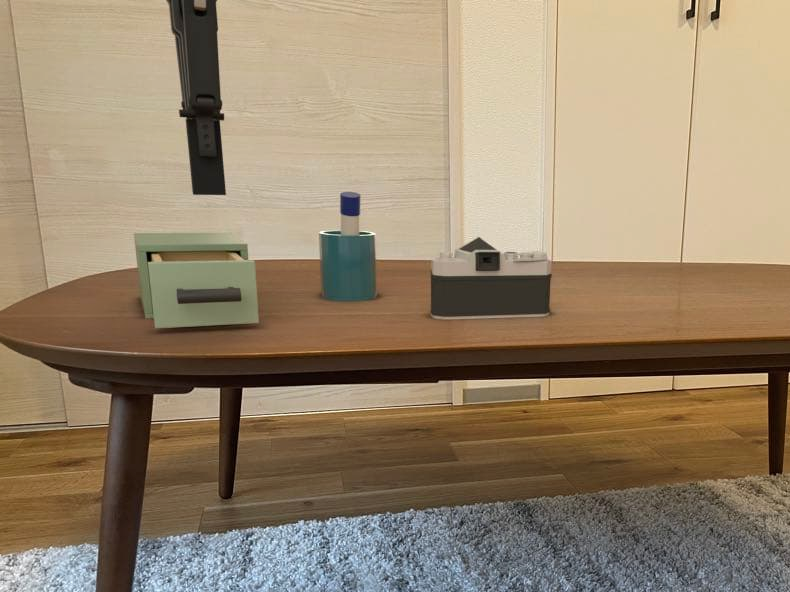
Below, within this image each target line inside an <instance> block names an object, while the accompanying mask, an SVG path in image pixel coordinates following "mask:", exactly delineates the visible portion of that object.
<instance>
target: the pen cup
mask: <svg viewBox="0 0 790 592" xmlns="http://www.w3.org/2000/svg"><path fill="white" fill-rule="evenodd" d="M318 247H319V271H320V293H321V298H322V299H325V300H327V301H333V302H334V301H335V302H366V301H371V300H372V301H373V300H375V299H377V295H378V294H377V293H378V281H377V279H378V278H377V277H378V275H377V272H378V271H377V234H376V233H375V232H371V231H364V230H359V235H341V230H323V231H319V232H318Z"/></svg>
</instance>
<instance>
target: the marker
mask: <svg viewBox="0 0 790 592" xmlns="http://www.w3.org/2000/svg"><path fill="white" fill-rule="evenodd" d="M339 195H340V196H339V198H340V199H339V205H340V206H339V212H340V231H341V235H359V231H360V228H361V227H360V226H361V224H360V222H361V220H360V219H361V217H360V216H361V211H362V210H361V205H362V202H361V201H362V195H361V194H360V193H358V192H356V191H355V192H354V191H343V192H340V194H339Z"/></svg>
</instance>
